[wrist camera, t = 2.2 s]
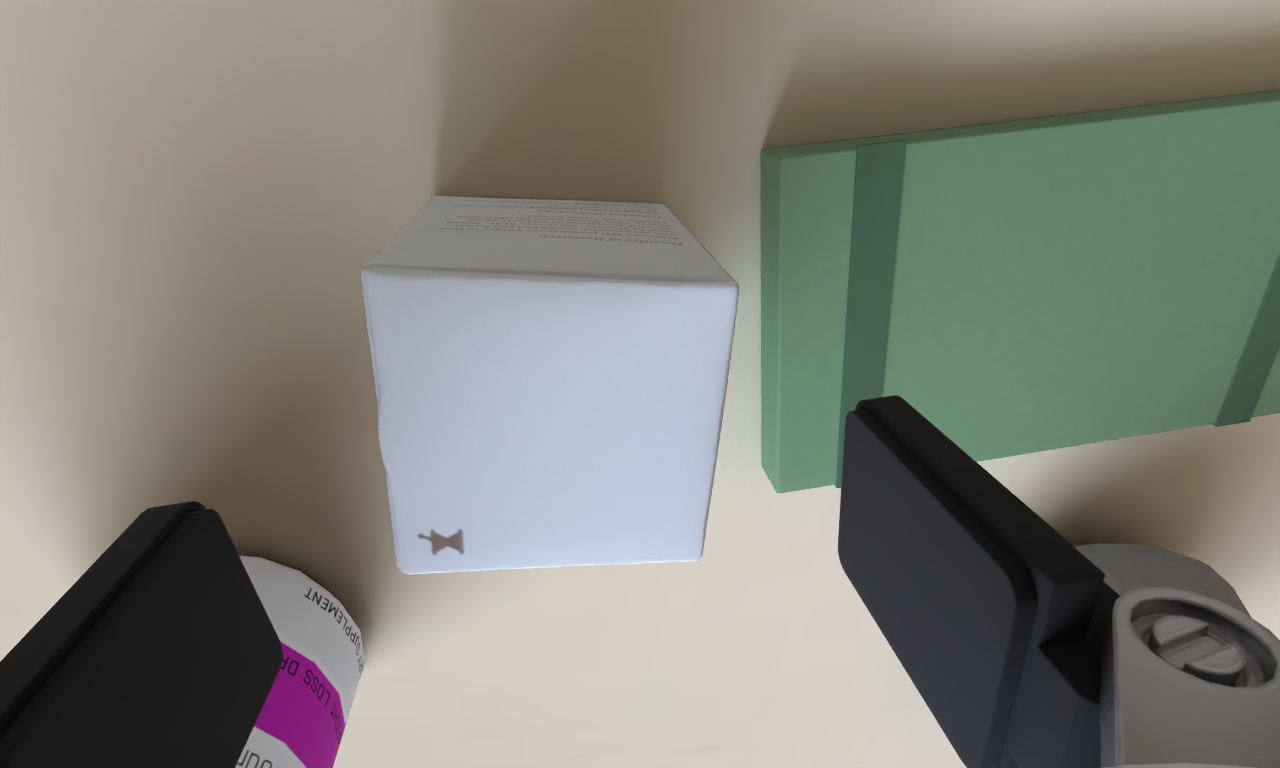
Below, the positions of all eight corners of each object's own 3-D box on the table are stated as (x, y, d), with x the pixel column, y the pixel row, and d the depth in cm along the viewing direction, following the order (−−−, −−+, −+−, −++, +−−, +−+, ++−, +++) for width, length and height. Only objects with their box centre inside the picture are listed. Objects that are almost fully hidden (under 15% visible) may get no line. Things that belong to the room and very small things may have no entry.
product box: (650, 403, 19) (704, 571, 13) (445, 403, 18) (389, 585, 12) (668, 199, 17) (749, 278, 10) (429, 186, 16) (347, 265, 9)
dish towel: (759, 147, 16) (781, 154, 15) (1376, 76, 18) (1453, 76, 16) (761, 467, 21) (777, 497, 19) (1250, 390, 22) (1301, 413, 21)
